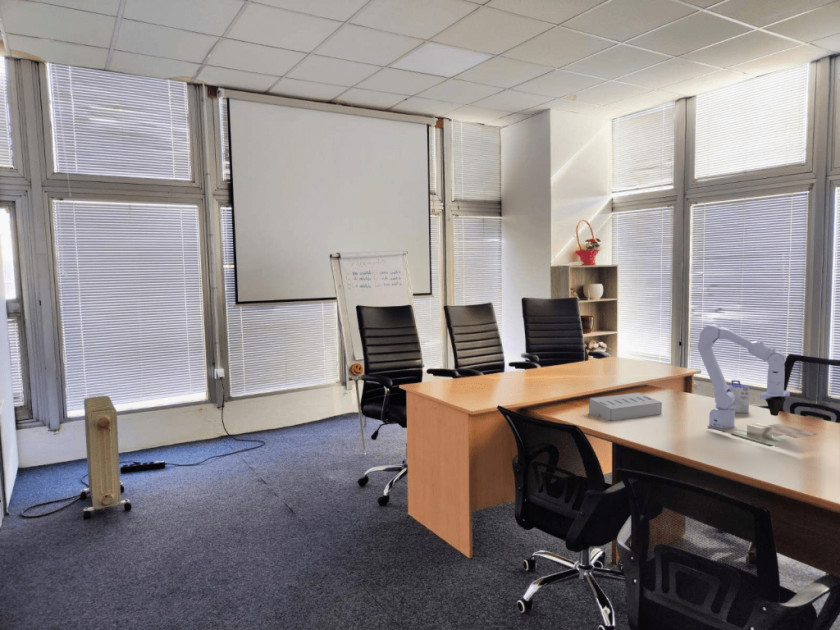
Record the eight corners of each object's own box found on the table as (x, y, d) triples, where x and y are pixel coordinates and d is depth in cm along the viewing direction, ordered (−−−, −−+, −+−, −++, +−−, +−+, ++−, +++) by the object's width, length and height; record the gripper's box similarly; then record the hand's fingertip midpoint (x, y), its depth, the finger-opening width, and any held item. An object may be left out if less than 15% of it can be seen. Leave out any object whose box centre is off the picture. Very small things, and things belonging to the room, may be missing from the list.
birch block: (761, 438, 215) (761, 428, 215) (746, 434, 220) (747, 424, 220) (771, 436, 217) (772, 426, 217) (757, 432, 223) (757, 422, 222)
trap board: (769, 446, 210) (769, 442, 210) (731, 435, 225) (731, 431, 225) (817, 437, 221) (817, 433, 221) (778, 427, 236) (778, 423, 236)
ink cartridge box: (745, 410, 264) (746, 380, 263) (749, 413, 259) (750, 382, 258) (722, 409, 266) (723, 379, 265) (726, 412, 261) (727, 381, 260)
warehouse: (610, 421, 248) (611, 404, 247) (589, 414, 261) (589, 398, 260) (661, 414, 259) (661, 398, 259) (638, 407, 272) (638, 392, 272)
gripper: (772, 385, 215) (771, 419, 217) (797, 382, 221) (796, 415, 222) (755, 381, 222) (754, 415, 223) (780, 378, 227) (779, 411, 229)
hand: (774, 415), depth 223 cm, fingers closed
